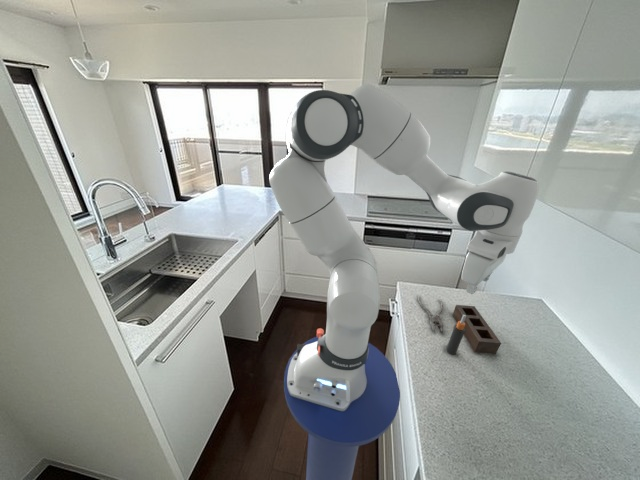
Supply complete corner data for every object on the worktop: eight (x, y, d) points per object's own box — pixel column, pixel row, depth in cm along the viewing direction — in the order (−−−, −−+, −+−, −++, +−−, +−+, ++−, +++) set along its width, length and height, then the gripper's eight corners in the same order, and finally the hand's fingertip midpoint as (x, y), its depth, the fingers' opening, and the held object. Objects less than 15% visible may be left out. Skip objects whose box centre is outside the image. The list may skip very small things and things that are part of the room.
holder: (474, 352, 83) (479, 341, 81) (452, 314, 99) (456, 304, 97) (495, 354, 83) (501, 343, 81) (470, 316, 99) (474, 306, 97)
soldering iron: (448, 354, 82) (461, 318, 75) (444, 346, 85) (457, 311, 78) (457, 355, 82) (472, 319, 75) (453, 347, 85) (467, 312, 78)
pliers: (439, 296, 107) (461, 332, 89) (438, 298, 108) (461, 334, 90) (416, 295, 107) (434, 330, 89) (415, 296, 108) (433, 332, 90)
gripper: (495, 226, 71) (479, 268, 77) (464, 245, 59) (448, 293, 65) (522, 234, 67) (503, 278, 73) (495, 256, 55) (474, 307, 61)
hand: (477, 285), depth 69 cm, fingers open, 8 cm apart
